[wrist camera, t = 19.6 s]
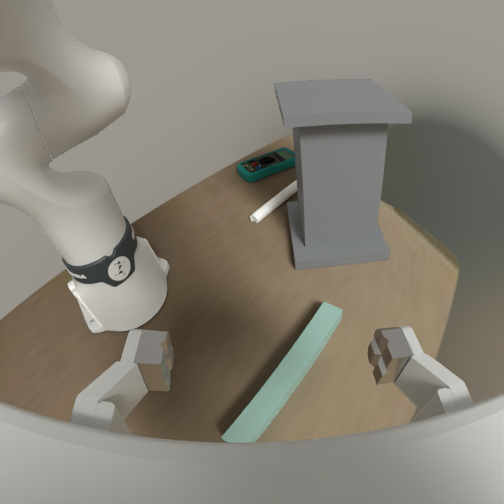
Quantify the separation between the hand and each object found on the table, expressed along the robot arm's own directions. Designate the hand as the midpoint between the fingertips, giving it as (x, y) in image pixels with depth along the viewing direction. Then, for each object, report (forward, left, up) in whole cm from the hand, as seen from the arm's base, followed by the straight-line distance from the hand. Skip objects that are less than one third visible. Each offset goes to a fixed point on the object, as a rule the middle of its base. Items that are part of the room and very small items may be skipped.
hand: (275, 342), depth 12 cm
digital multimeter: (-40, +48, -29) cm, 69 cm away
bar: (-6, +7, -29) cm, 30 cm away
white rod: (-29, +38, -29) cm, 56 cm away
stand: (-15, +35, -28) cm, 47 cm away
